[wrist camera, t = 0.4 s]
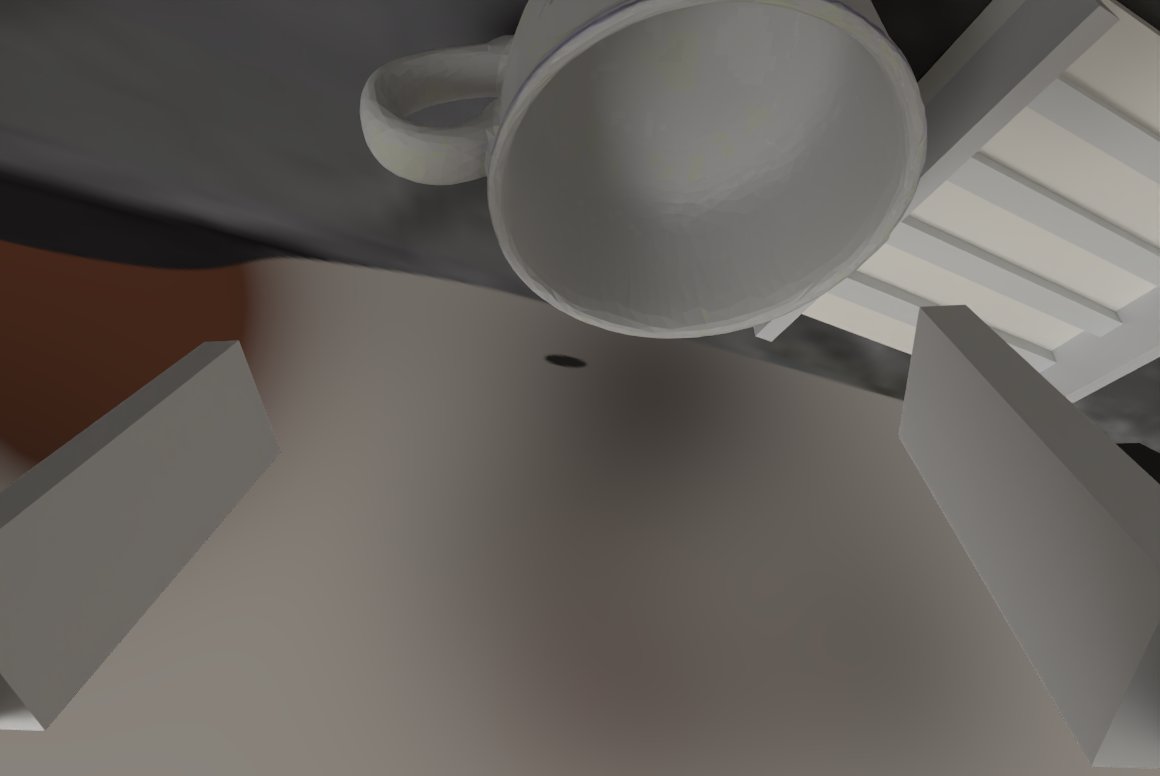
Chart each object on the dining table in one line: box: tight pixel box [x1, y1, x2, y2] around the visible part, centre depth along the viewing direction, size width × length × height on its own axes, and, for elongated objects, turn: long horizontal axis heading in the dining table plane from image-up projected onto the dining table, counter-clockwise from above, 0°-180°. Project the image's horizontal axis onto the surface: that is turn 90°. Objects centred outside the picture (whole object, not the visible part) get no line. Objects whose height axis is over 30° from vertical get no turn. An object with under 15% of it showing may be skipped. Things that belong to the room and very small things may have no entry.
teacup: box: [360, 0, 927, 338], centre depth 19 cm, size 14×11×8 cm
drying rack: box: [753, 0, 1160, 403], centre depth 25 cm, size 16×14×4 cm
